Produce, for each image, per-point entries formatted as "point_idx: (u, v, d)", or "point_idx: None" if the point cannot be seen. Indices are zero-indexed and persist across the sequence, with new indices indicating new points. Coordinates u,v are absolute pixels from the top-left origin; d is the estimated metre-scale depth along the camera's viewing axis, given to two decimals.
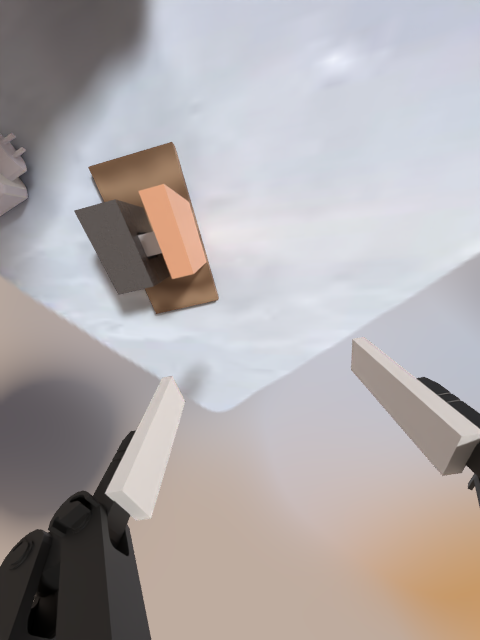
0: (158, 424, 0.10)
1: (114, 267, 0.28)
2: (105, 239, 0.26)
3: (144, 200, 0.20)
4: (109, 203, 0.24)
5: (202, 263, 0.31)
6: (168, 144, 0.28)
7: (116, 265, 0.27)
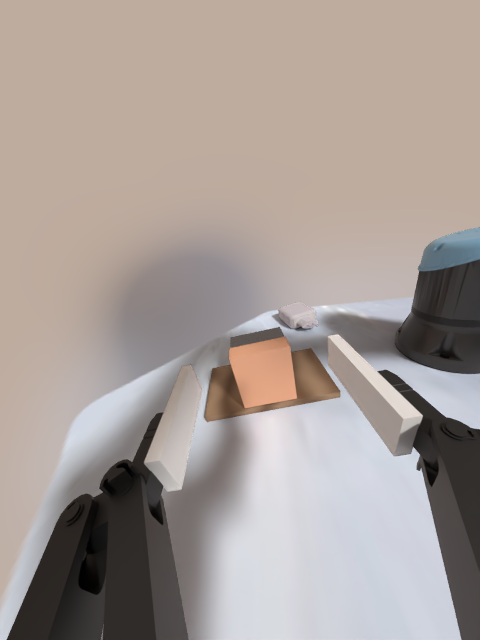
0: (183, 407, 0.11)
1: (247, 337, 0.42)
2: (264, 335, 0.41)
3: (280, 338, 0.31)
4: None
5: (241, 391, 0.33)
6: (337, 389, 0.34)
7: (248, 338, 0.42)
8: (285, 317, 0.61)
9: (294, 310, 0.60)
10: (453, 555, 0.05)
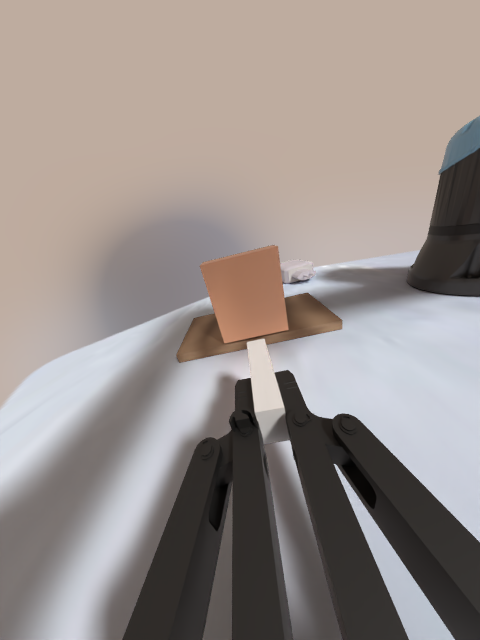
0: None
1: None
2: None
3: None
4: None
5: (218, 318, 0.26)
6: (338, 318, 0.27)
7: None
8: None
9: (289, 264, 0.54)
10: (316, 535, 0.06)
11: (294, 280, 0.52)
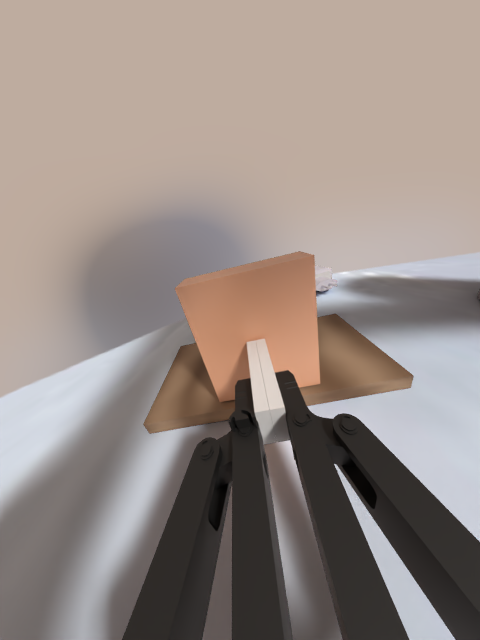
0: None
1: None
2: None
3: (289, 254, 0.15)
4: None
5: (210, 368, 0.16)
6: (405, 371, 0.17)
7: None
8: None
9: None
10: (316, 535, 0.06)
11: None
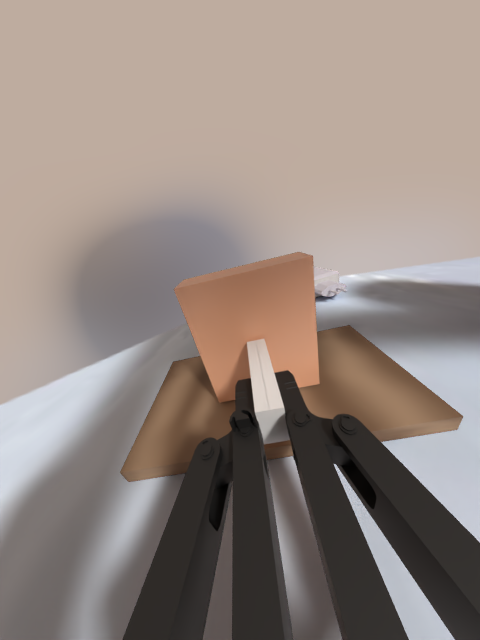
0: None
1: None
2: None
3: (288, 254, 0.15)
4: None
5: (209, 368, 0.16)
6: (451, 408, 0.13)
7: None
8: None
9: None
10: (316, 535, 0.06)
11: None
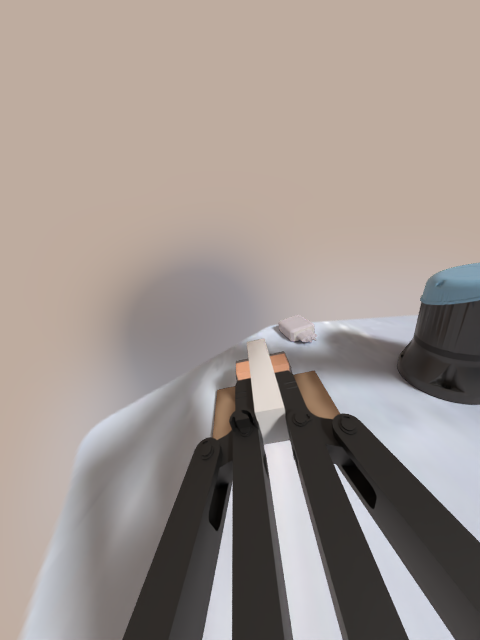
0: None
1: None
2: None
3: (279, 355, 0.36)
4: None
5: None
6: None
7: None
8: (285, 330, 0.64)
9: (294, 324, 0.64)
10: (316, 535, 0.06)
11: (298, 339, 0.62)
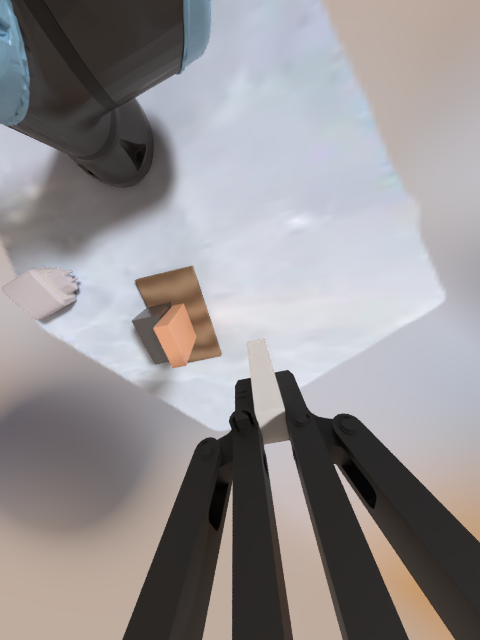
0: None
1: (153, 349, 0.42)
2: (149, 334, 0.40)
3: (156, 332, 0.35)
4: (154, 316, 0.38)
5: (192, 344, 0.45)
6: (189, 267, 0.42)
7: (155, 348, 0.42)
8: (58, 309, 0.44)
9: (39, 298, 0.41)
10: (316, 535, 0.06)
11: None
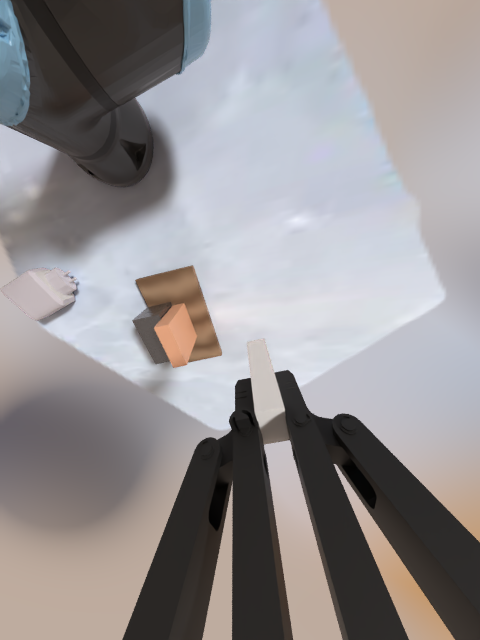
0: None
1: (154, 349, 0.42)
2: (150, 334, 0.40)
3: (157, 331, 0.35)
4: (154, 316, 0.38)
5: (193, 344, 0.46)
6: (189, 267, 0.42)
7: (155, 348, 0.42)
8: (57, 310, 0.44)
9: (38, 299, 0.41)
10: (316, 535, 0.06)
11: None
